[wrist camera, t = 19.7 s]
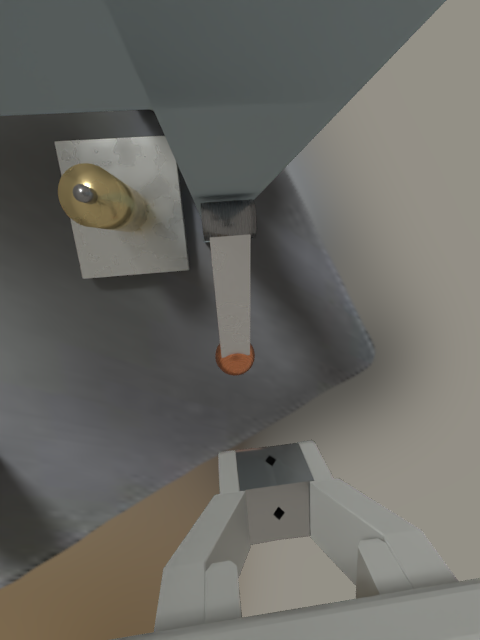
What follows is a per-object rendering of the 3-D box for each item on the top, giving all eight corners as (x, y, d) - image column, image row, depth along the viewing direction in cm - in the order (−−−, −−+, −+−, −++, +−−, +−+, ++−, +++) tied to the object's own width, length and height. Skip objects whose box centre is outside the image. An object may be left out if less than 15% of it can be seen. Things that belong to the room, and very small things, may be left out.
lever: (196, 192, 17) (196, 218, 14) (253, 188, 17) (262, 213, 15) (215, 354, 27) (218, 385, 24) (251, 351, 27) (257, 381, 24)
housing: (100, 188, 32) (40, 159, 21) (144, 185, 32) (108, 156, 21) (108, 233, 33) (55, 228, 22) (150, 230, 33) (119, 224, 22)
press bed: (63, 147, 32) (54, 141, 30) (175, 141, 33) (173, 135, 31) (89, 276, 36) (82, 278, 34) (190, 268, 37) (188, 270, 35)
